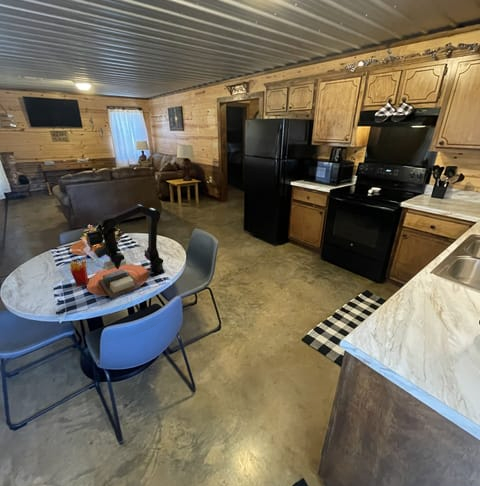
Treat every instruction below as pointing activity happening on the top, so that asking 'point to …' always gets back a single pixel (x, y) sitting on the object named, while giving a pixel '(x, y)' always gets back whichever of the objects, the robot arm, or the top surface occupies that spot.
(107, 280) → the grey rectangular block
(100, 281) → the walnut board
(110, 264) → the cream book
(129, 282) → the cream books
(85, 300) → the top surface
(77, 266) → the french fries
